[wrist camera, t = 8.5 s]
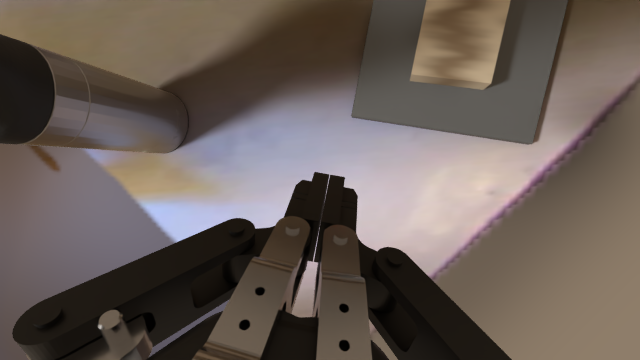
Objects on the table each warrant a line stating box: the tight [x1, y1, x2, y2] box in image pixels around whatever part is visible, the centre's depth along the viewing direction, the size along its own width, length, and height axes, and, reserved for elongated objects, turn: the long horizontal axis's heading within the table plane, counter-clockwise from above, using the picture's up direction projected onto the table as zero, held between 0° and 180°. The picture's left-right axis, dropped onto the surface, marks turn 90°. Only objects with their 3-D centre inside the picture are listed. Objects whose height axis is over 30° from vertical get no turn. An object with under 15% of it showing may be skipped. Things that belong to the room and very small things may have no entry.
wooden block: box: [410, 0, 511, 90], centre depth 31 cm, size 8×3×14 cm
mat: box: [351, 0, 568, 144], centre depth 33 cm, size 20×26×1 cm
